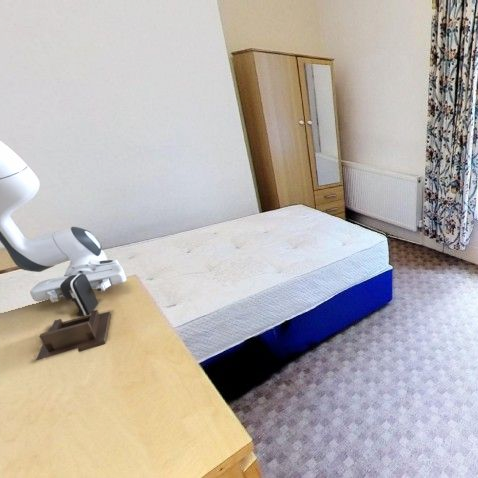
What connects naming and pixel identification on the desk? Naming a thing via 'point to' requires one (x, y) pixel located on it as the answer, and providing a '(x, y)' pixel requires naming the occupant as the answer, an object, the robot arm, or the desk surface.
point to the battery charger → (79, 293)
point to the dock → (75, 334)
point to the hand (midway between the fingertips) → (78, 294)
